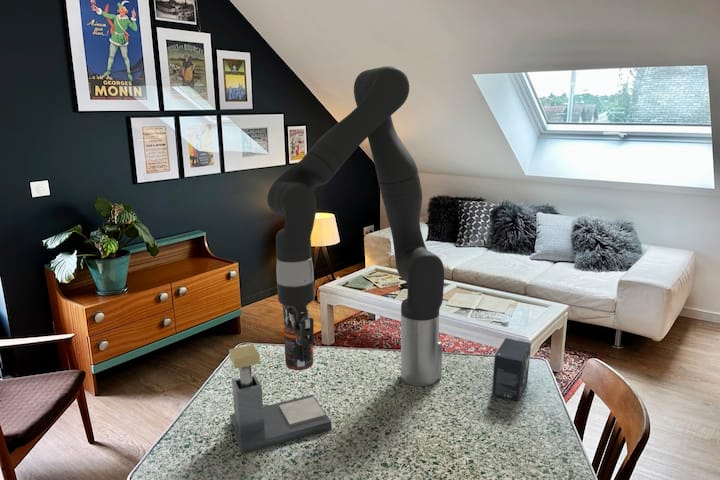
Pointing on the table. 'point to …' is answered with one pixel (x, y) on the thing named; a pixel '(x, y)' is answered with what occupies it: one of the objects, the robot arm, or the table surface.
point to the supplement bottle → (294, 350)
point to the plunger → (244, 363)
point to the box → (511, 369)
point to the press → (273, 418)
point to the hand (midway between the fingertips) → (299, 353)
